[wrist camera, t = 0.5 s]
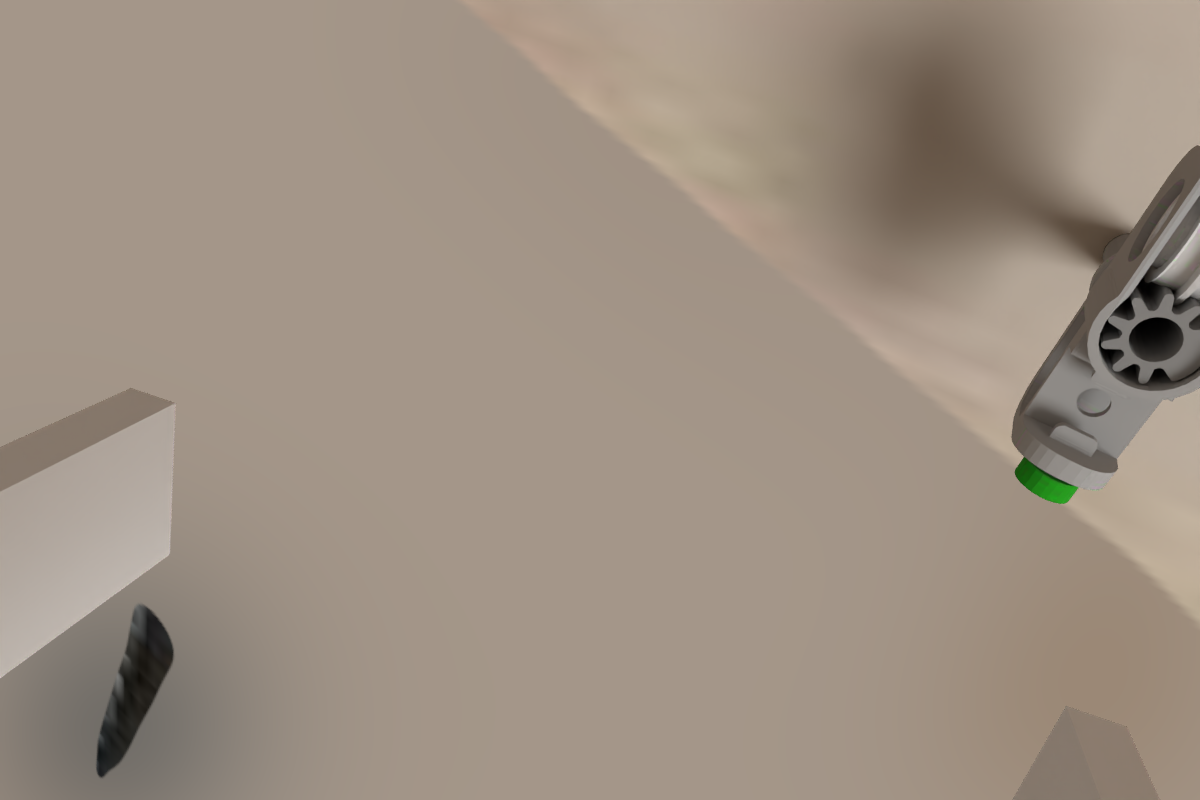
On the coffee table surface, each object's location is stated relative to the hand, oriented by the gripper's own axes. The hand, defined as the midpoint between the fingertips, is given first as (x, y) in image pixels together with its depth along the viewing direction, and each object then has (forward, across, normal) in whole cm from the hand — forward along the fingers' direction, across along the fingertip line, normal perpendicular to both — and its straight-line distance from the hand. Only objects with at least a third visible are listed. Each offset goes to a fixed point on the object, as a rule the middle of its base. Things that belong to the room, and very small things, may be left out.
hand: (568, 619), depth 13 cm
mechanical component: (+23, +13, +5) cm, 27 cm away
